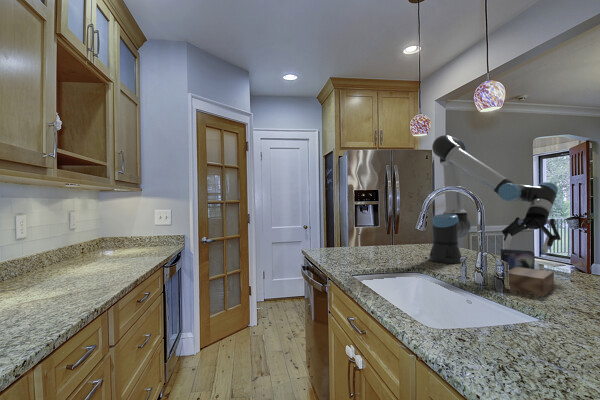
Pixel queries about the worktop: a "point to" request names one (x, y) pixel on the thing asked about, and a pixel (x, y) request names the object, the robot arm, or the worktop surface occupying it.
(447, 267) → the worktop surface
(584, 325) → the worktop surface
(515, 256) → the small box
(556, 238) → the robot arm
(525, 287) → the walnut plinth
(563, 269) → the worktop surface
